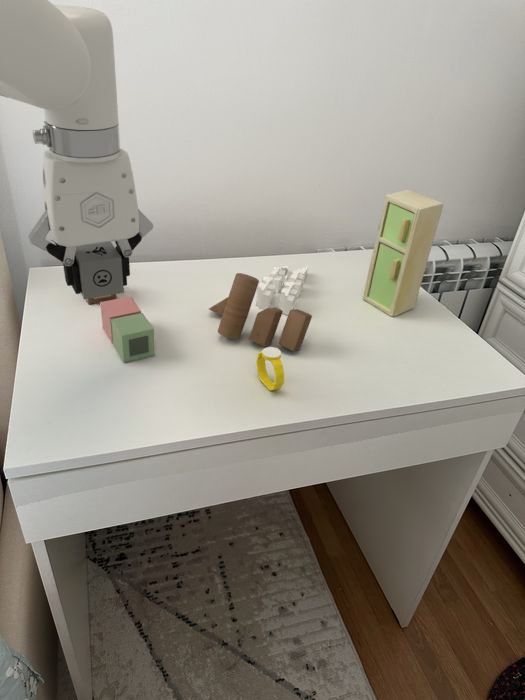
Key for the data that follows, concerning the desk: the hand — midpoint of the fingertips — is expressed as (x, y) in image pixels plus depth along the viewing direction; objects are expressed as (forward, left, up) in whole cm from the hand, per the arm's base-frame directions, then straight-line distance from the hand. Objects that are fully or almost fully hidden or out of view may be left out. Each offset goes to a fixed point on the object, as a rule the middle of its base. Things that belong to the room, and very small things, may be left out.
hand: (98, 283), depth 69 cm
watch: (+21, -11, -16) cm, 28 cm away
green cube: (+6, +5, -16) cm, 17 cm away
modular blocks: (+39, +12, -16) cm, 44 cm away
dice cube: (0, 0, -1) cm, 1 cm away
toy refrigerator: (+55, 0, -16) cm, 57 cm away
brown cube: (+6, +23, -16) cm, 29 cm away
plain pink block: (+6, +10, -16) cm, 20 cm away
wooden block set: (+25, +1, -16) cm, 29 cm away
